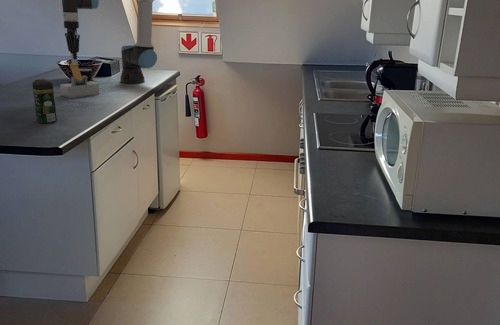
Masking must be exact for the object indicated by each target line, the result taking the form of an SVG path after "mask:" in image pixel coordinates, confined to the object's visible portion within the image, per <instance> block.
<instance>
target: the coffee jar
mask: <svg viewBox="0 0 500 325" xmlns="http://www.w3.org/2000/svg"><path fill="white" fill-rule="evenodd" d="M54 91H55V89H54V83H52V82H51V81H49V80H46V79H44V78H43V79H42V78H41V79H40V78H39V79H35V80H34V81H33V82H32V93H33V94H32V95H33V99H34V100H33V101H34V110H35V117H36V121H37V122H38V123H41V124H52V123H54V122H57V120H58V119H57V110H56V103H55V102H56V101H55V93H54Z"/></svg>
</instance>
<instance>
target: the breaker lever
mask: <svg viewBox="0 0 500 325" xmlns="http://www.w3.org/2000/svg"><path fill="white" fill-rule="evenodd" d="M67 62H68V65H69V68H70V70H71V73H72V75H73V76H72V77H75V78H76V84H80V83H84V79H82V76H81V73H80V70H79V69H80V68H79V64H78V65H72V61H71V58H70V59H68V60H67Z"/></svg>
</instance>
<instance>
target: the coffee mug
mask: <svg viewBox="0 0 500 325" xmlns="http://www.w3.org/2000/svg"><path fill="white" fill-rule="evenodd" d="M79 70H80V73H81V76H87V81H92V72H93V71H92V69H91V68H79ZM72 75H73V73H72V72H70V75H69V76H70V77H72Z"/></svg>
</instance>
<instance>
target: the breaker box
mask: <svg viewBox="0 0 500 325" xmlns="http://www.w3.org/2000/svg"><path fill="white" fill-rule="evenodd" d="M70 79H71V80H70V81H71V83H61V84H59V88H60V96H62V97H64V98H67V99H71V98H72V99H74V98H80V97H87V96H96V95H99V94H100V86H99V83H98V82H95V81H92V80H91V81H87V76H82V79H84V83H80V84H76V78H75V77H74V76H70Z"/></svg>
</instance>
